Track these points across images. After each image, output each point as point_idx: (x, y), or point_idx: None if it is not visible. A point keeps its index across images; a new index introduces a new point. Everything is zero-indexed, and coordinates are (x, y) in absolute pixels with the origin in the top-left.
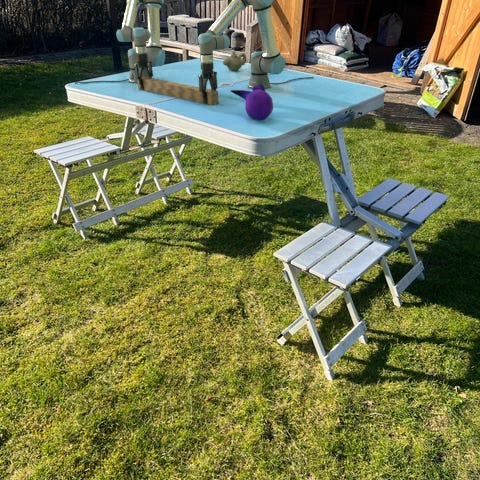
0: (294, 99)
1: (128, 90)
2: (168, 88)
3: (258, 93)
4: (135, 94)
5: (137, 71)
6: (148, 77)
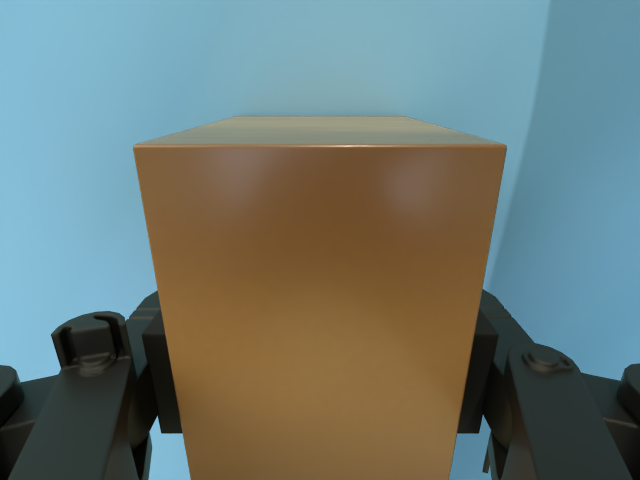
0: None
1: (11, 61)
2: None
3: None
4: None
5: None
6: (443, 438)
